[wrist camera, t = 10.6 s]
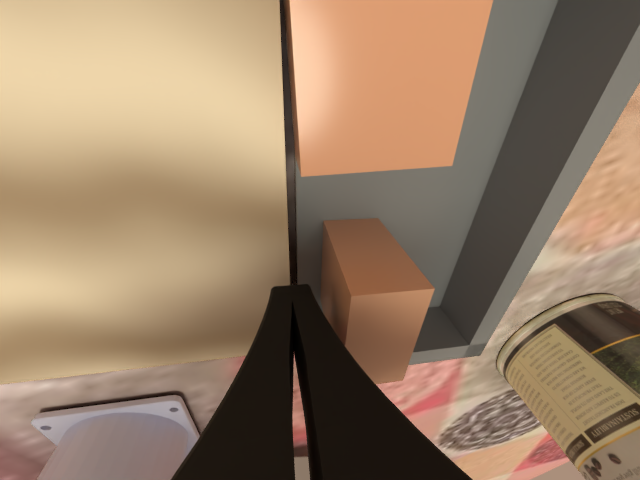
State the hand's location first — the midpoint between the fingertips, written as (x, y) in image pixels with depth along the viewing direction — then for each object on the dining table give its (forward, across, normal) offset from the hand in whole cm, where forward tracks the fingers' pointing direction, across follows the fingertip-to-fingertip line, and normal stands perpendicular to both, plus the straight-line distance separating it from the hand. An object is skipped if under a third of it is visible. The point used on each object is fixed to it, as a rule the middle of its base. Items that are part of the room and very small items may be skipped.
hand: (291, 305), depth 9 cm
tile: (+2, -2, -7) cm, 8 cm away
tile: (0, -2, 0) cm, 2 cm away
